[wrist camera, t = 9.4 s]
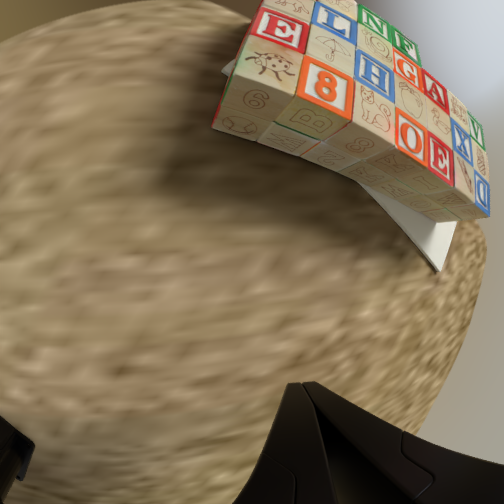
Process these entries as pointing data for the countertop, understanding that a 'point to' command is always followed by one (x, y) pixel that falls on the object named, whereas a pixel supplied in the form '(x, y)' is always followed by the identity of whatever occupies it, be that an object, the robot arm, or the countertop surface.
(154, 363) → the countertop surface
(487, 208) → the stack of blocks
